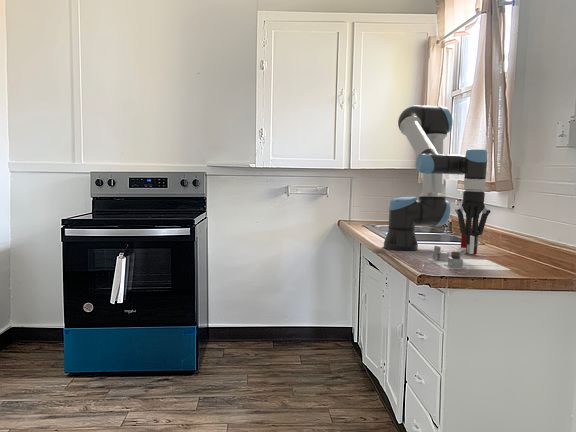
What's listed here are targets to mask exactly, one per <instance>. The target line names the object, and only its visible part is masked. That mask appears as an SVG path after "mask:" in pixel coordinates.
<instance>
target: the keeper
mask: <svg viewBox="0 0 576 432" xmlns="http://www.w3.org/2000/svg"><path fill="white" fill-rule="evenodd" d="M448 257H450V253H449V252H447V251H441V246H438V245H434V248H433V252H432V259H434V260H436V261H448Z"/></svg>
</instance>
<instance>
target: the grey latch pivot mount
mask: <svg viewBox="0 0 576 432" xmlns="http://www.w3.org/2000/svg"><path fill="white" fill-rule="evenodd" d="M463 259H464V258H461V257H460V258H451V256H449V257H448V264H444V265H445V266H447V267H449V268H465V269H464V270H467V269H466V268H467V267H465V266H463Z"/></svg>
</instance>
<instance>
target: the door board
mask: <svg viewBox="0 0 576 432" xmlns="http://www.w3.org/2000/svg"><path fill="white" fill-rule="evenodd" d="M462 259H463V266H465V267H467V268H466V269H465V268H449V267H447V266H445V265H444V264H448V261H436V260H434V259H433V258H428V260H429V261H431V262H433V263H434V264H435V265H438V266H440V267H441V268H443V269H445V270H480V271H481V270H484V271H486V270H488V271H489V270H492V271H499V270H500V271H511V269H510V268H507V267H505V266H503V265H500V264H498V263H495V262H494V261H490V260H488V259H474V258H473V259H471V258H470V259H469V258H468V259H467V258H466V259H465V258H462Z"/></svg>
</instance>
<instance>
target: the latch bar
mask: <svg viewBox="0 0 576 432" xmlns="http://www.w3.org/2000/svg"><path fill="white" fill-rule="evenodd" d="M450 254H451V255H450V258H461V257H462V256H464V255H465V254H467V253H466V248H461V247H459V248H457V249H456V250H453V251H451V253H450Z"/></svg>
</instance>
